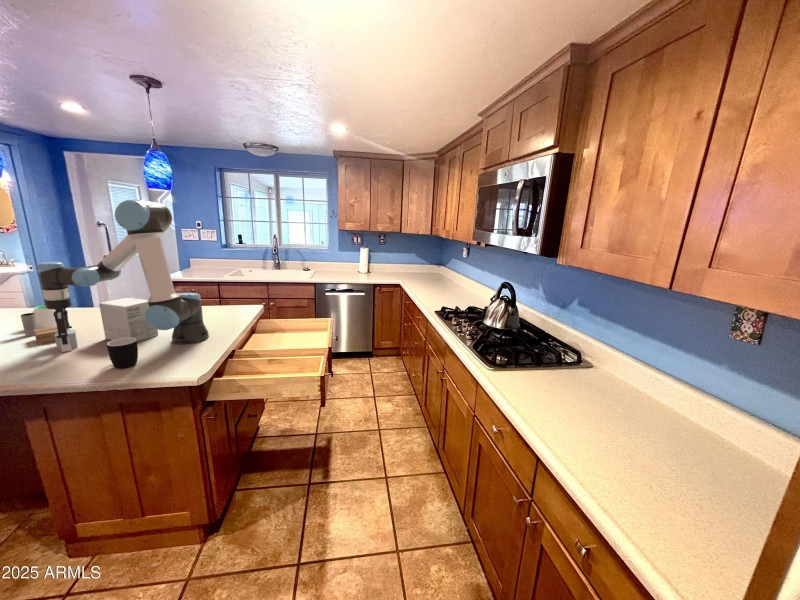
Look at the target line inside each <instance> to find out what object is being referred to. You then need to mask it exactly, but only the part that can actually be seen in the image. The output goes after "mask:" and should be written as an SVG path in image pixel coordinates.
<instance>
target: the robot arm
mask: <svg viewBox="0 0 800 600" xmlns="http://www.w3.org/2000/svg"><path fill="white" fill-rule="evenodd" d="M172 215H173V214H172V213H171V211H170V209H169V208H168V207H167V206H166V205H165V204H162V203H161V202H158V201H148V200H140V199H127V200H126V199H125V200H124V201H122V202H120V203H118V206H116V208H115V211H114V218H115V221H116V223H117V224H118V226H121V228H123V229H125V230H126V233H127V235H126V236H124V238H123V239H122V240H121V241H119V243H117V245H116V246H115V247H114V248H113V249H112V250H111V251H110V252H108V253H107V254H106V256H105V257H104V258H103V259H102V260H100V262H98V264H96V265H87V266H82V267H65V265H64V262H61V261H43V262H40V263H38V264H37V274H38V276H39V281H40V285H41V289H42V290H41V291H42V295H43V299H45V300H44V303H45V305H46V308H47V309H55V312H54V313H53V314H54V317H55V322H56V324H57V330H58V336H57V338H59V339H60V343H61V348H62V351H61V352H62V353H65V352H71V351H72V349H71V345H70V340H69V336H68V334H67V330H71V329H73V326H72V325H70V322H69V316H68V310H67V309H68V308H70V307H72V300H71V297H70V293H71V292H72V290H71V289H69V286H71V287H72V286H74V287H93V286H96V285H97V284H98V283H102V282H105V281H112V280H115V279H118V278H119V277H120V276H121V274H122V269H124V268H125V266H126V265H127V264H129V262H131V260H132V259H134V257H136V256H137V255H138V258H139V261H140V264H141V268H142V271H143V275H144V277H145V282H146V284H147V288H148V292H149V296H150V297H149V298H148V299H147V300H148V304H149V308H148V309H147V311H146V313H145V318H146V320H147V322H148V323H149V325H151V326H152V327H154V328H156V329H158V331H168V330H171V329H173V331H172V334H171V340H172V343H174V344H177V345H188V344H189V345H190V344H196V343H200V342H203V341H206V340H207V339H208V338H210V337H209V336H210V335H209V330H208V329H207V327H206V325H205V323H204V320H203V318H204V317H203V307H202V299H201V295H200V293H196V292H176V291H175V288H174V283H173V280H172V276H171V273H170V270H169V266H168V262H167V258H166V254H165V251H164V247H163V243H162V240H161V236H162V235H163V234H164V233H165V232H166V231H167V230H168V229H169V228H170V226H171V224H172V222H173V216H172Z"/></svg>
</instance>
